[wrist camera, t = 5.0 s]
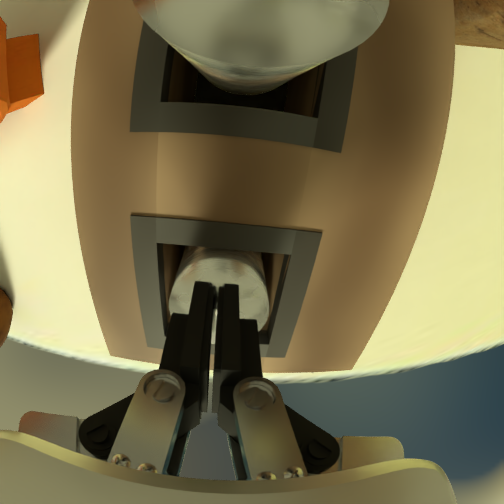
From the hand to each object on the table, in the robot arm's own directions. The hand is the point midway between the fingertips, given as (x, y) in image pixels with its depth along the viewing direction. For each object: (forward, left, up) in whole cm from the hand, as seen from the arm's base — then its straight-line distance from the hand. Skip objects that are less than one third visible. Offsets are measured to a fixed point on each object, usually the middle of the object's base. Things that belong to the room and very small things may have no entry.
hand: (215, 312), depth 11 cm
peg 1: (0, -10, -3) cm, 10 cm away
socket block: (-1, -6, -8) cm, 10 cm away
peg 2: (0, 0, -7) cm, 7 cm away
